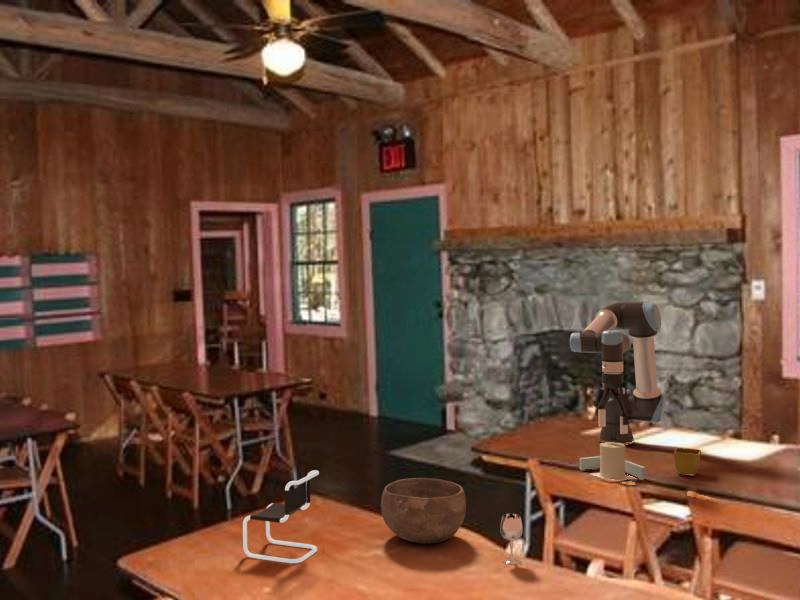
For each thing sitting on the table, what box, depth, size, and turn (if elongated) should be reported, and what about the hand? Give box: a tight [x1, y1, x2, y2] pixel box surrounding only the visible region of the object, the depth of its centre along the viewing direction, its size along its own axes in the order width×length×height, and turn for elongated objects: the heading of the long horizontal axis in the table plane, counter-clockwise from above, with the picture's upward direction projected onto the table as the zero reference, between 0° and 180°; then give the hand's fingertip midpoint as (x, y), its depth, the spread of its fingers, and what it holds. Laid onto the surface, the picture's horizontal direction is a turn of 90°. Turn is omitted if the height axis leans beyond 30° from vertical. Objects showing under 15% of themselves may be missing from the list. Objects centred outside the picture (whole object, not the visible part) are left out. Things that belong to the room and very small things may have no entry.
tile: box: [588, 472, 637, 480], centre depth 293 cm, size 12×12×1 cm
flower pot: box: [673, 447, 702, 475], centre depth 296 cm, size 9×9×9 cm
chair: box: [242, 469, 320, 564], centre depth 216 cm, size 13×17×22 cm
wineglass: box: [500, 513, 524, 565], centre depth 208 cm, size 6×6×12 cm
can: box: [599, 442, 626, 479], centre depth 292 cm, size 9×9×12 cm
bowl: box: [380, 477, 467, 544], centre depth 227 cm, size 24×24×15 cm
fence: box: [578, 455, 647, 481], centre depth 297 cm, size 14×22×4 cm, turn 20°
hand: (612, 430), depth 292 cm, fingers open, 13 cm apart
